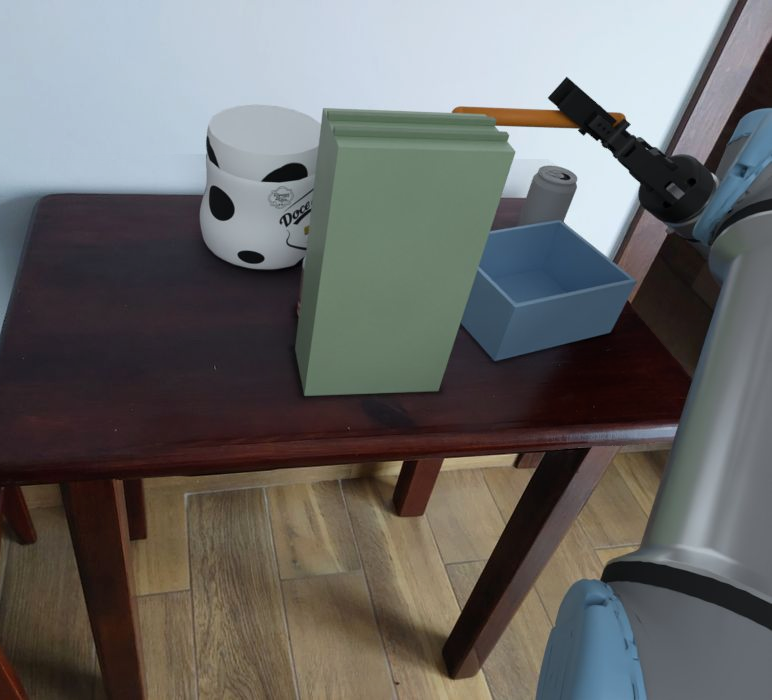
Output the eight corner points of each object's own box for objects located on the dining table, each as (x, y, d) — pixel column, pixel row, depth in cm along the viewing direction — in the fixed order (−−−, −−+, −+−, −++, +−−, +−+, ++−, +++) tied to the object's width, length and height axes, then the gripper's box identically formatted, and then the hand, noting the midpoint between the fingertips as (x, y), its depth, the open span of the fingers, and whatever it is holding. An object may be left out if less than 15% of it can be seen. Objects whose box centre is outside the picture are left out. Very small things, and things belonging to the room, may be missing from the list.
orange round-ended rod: (617, 125, 75) (623, 110, 74) (625, 133, 74) (632, 117, 73) (446, 119, 72) (450, 103, 71) (451, 127, 70) (456, 110, 69)
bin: (610, 332, 91) (637, 281, 85) (494, 361, 84) (515, 307, 79) (540, 269, 101) (560, 219, 95) (431, 290, 94) (446, 238, 89)
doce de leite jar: (328, 282, 93) (346, 161, 81) (201, 282, 90) (200, 157, 78) (310, 216, 106) (323, 103, 94) (198, 215, 103) (197, 98, 91)
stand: (420, 346, 85) (487, 107, 65) (438, 391, 79) (518, 145, 59) (294, 349, 82) (323, 101, 62) (304, 396, 76) (339, 139, 56)
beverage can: (550, 259, 104) (579, 188, 96) (509, 247, 105) (533, 177, 97) (554, 239, 108) (582, 170, 100) (514, 228, 109) (538, 159, 101)
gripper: (691, 253, 78) (565, 154, 67) (629, 189, 89) (511, 95, 78) (749, 204, 75) (626, 90, 63) (676, 144, 86) (561, 38, 74)
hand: (563, 93), depth 71 cm, fingers closed on orange round-ended rod, 2 cm apart
